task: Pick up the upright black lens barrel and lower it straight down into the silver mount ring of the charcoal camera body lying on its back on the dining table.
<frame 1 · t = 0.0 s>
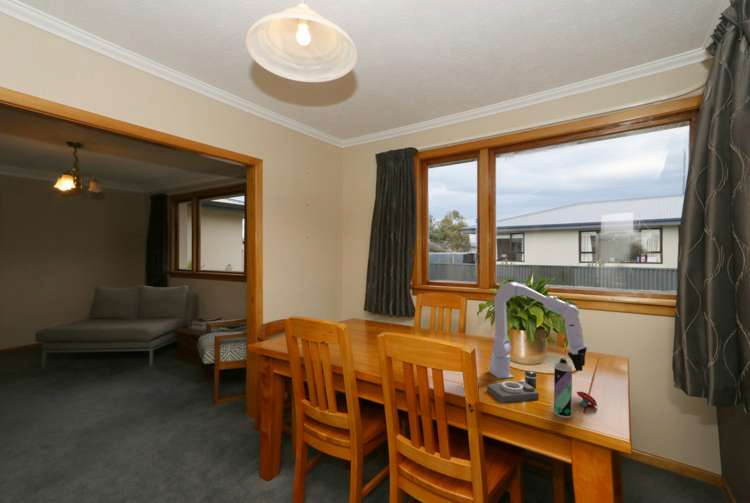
hand: (580, 367, 137), 11 cm above the table, tool pointing down, fingers open, 7 cm apart
spray can: (562, 414, 120), on the table
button: (586, 406, 126), on the table
camera body: (512, 394, 136), on the table
lens: (530, 386, 144), on the table
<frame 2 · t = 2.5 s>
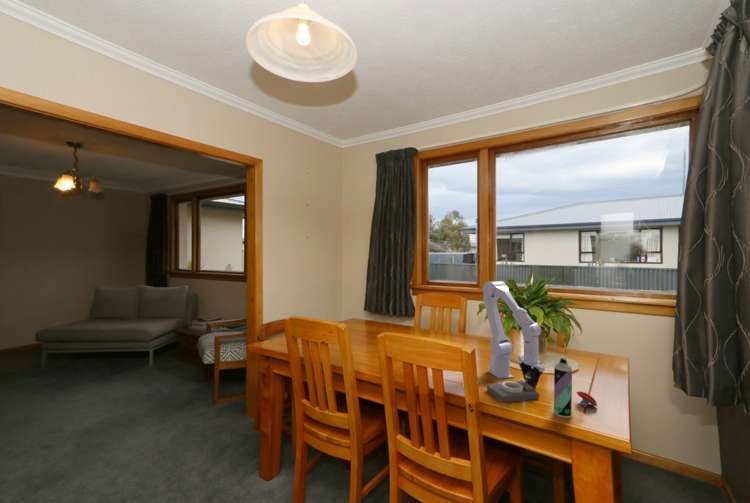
hand: (530, 382, 144), 2 cm above the table, tool pointing down, fingers closed on lens, 4 cm apart
lens: (530, 386, 144), on the table, touching gripper
everything else where it was.
when the fingers open (5 cm above the table, at t = 5.6 s): lens stays where it is, resting on camera body.
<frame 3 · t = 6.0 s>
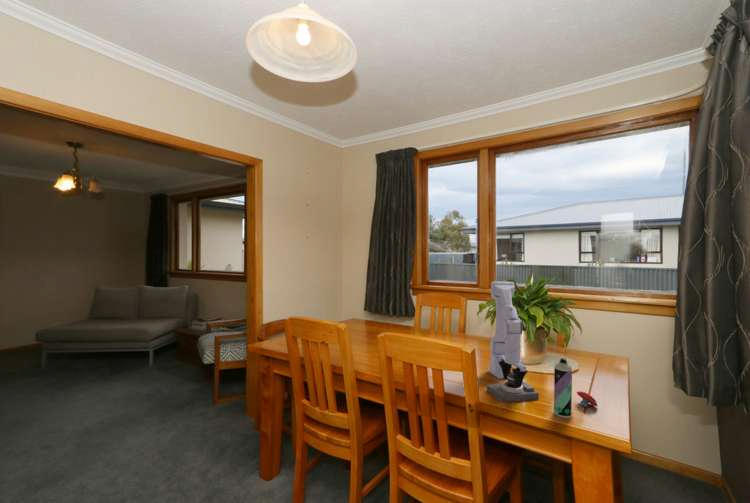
hand: (512, 382, 136), 5 cm above the table, tool pointing down, fingers open, 7 cm apart
lens: (513, 388, 136), point 2 cm above the table, touching camera body
everything else where it was.
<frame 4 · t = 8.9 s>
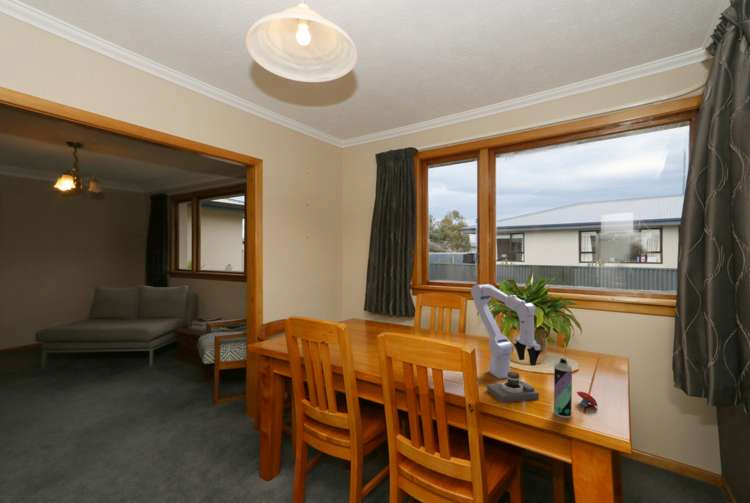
hand: (527, 362, 145), 10 cm above the table, tool pointing down, fingers open, 7 cm apart
nothing on the table moved.
at the end: lens 0.5 cm off-centre on the camera body, point 2.4 cm above the camera body's base; lens tilted 1°; the gripper is holding nothing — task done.
